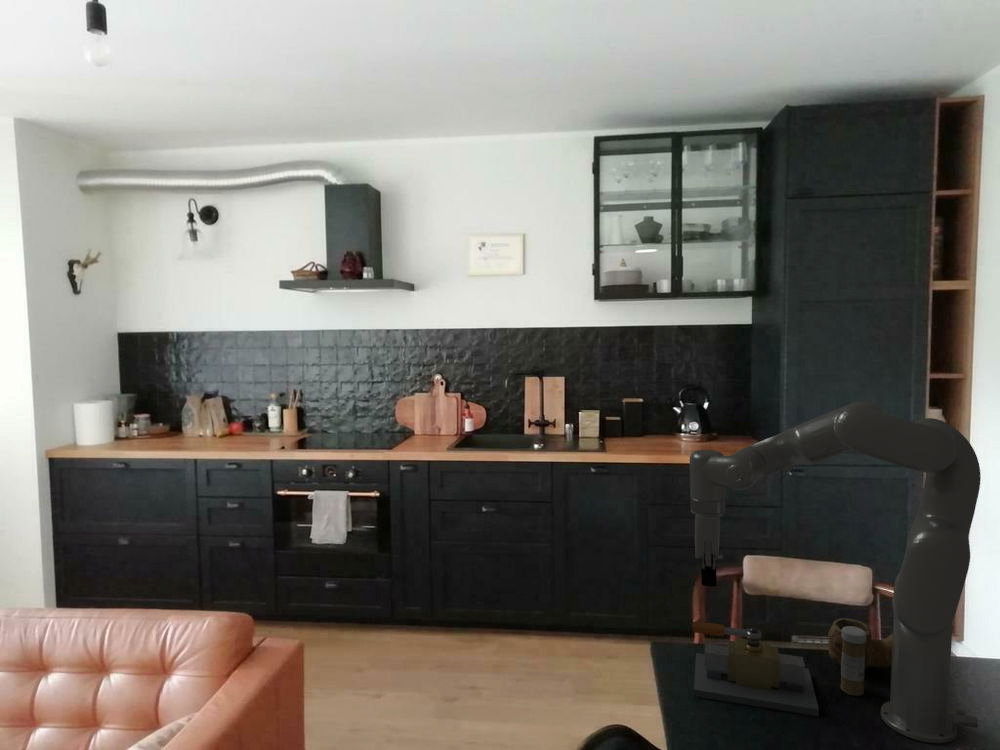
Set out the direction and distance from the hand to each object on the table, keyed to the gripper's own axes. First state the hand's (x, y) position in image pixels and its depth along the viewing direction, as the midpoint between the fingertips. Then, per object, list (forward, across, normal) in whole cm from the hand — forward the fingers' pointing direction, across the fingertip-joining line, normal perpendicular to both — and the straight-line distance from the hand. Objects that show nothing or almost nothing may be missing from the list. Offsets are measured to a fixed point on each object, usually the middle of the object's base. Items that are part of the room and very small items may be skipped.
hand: (709, 584), depth 150 cm
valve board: (+20, +6, +9) cm, 22 cm away
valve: (+18, +6, +9) cm, 21 cm away
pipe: (+20, -9, +34) cm, 40 cm away
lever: (+8, +6, +4) cm, 11 cm away
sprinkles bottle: (+20, +2, +29) cm, 35 cm away
